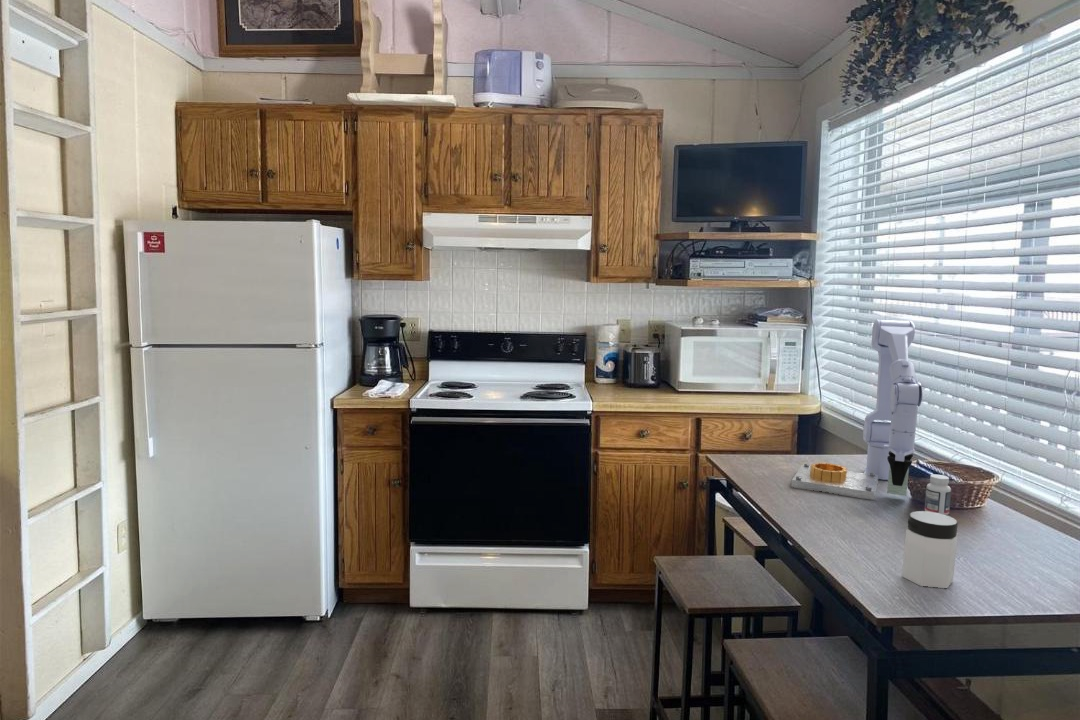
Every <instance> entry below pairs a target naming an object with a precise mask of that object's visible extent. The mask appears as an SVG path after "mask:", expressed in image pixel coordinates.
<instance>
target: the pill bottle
mask: <svg viewBox="0 0 1080 720" xmlns="http://www.w3.org/2000/svg"><path fill="white" fill-rule="evenodd" d="M929 477H930V478H929V481H930V482H929V483H927V485H926V489H925V502H924V511H928V512H935V513H940V514H944V515H947V516H949V514H950V507H951V495H952V488H951V487H950V486H949V485H948V484H949V482H950V477H949V476H947V475H943V474H935V473H934V474H931V475H930V476H929Z"/></svg>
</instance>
